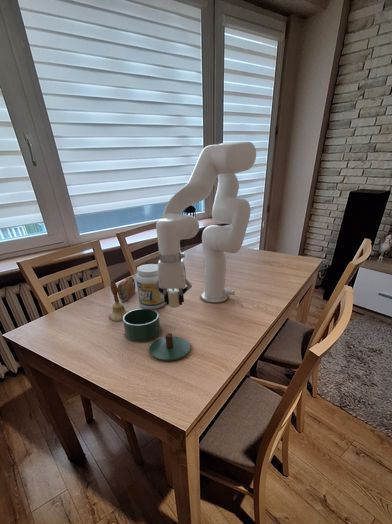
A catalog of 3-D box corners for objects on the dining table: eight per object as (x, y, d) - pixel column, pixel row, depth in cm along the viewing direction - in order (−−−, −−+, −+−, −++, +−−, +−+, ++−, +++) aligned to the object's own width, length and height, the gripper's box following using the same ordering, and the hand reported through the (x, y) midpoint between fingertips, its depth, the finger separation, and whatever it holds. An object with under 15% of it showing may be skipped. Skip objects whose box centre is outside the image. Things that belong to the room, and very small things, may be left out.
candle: (181, 302, 110) (179, 286, 106) (179, 307, 106) (178, 291, 102) (169, 302, 110) (168, 286, 106) (168, 307, 107) (166, 291, 103)
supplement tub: (134, 307, 123) (128, 270, 113) (147, 297, 132) (143, 262, 123) (159, 311, 120) (155, 273, 110) (170, 300, 129) (167, 264, 119)
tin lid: (186, 336, 102) (186, 322, 99) (193, 359, 91) (193, 343, 88) (148, 341, 100) (146, 327, 97) (151, 364, 89) (148, 349, 85)
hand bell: (120, 322, 112) (112, 285, 103) (105, 317, 116) (97, 281, 107) (134, 314, 118) (128, 278, 109) (120, 310, 122) (113, 275, 112)
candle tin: (159, 322, 112) (157, 306, 108) (162, 339, 101) (160, 322, 97) (126, 326, 110) (123, 310, 106) (125, 344, 99) (122, 327, 95)
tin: (124, 303, 127) (121, 286, 122) (118, 303, 128) (114, 285, 123) (136, 290, 139) (134, 274, 134) (131, 290, 140) (128, 274, 135)
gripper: (194, 253, 100) (196, 299, 111) (148, 254, 101) (155, 299, 112) (193, 260, 94) (195, 308, 105) (144, 261, 95) (151, 308, 106)
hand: (174, 303), depth 108 cm, fingers closed on candle, 4 cm apart
